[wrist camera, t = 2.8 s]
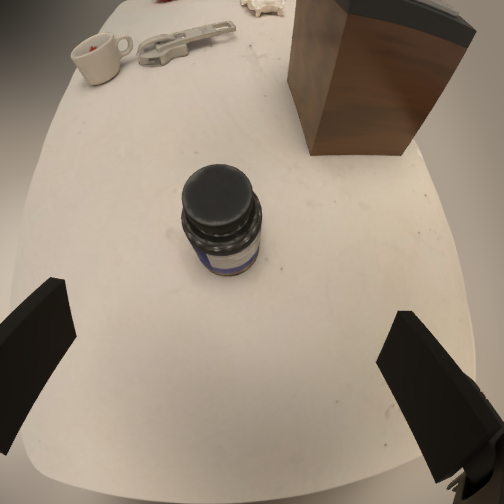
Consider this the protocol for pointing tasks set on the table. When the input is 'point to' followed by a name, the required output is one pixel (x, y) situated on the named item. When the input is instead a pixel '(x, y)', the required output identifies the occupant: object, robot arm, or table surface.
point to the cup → (100, 56)
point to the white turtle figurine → (265, 6)
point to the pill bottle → (222, 219)
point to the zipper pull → (176, 44)
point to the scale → (416, 16)
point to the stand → (363, 79)
